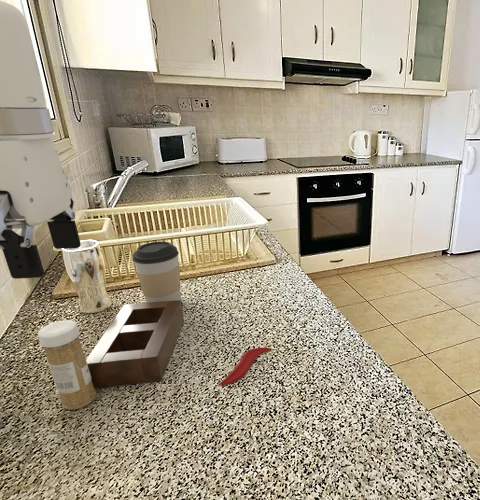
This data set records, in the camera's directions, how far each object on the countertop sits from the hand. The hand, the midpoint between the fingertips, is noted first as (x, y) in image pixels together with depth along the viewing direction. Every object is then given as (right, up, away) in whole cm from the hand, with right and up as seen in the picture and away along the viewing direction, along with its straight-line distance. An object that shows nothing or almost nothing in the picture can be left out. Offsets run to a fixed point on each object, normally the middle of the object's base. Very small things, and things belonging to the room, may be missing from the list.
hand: (50, 261), depth 49 cm
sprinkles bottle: (-3, -22, +9) cm, 25 cm away
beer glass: (-18, -12, +36) cm, 42 cm away
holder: (0, -18, +22) cm, 28 cm away
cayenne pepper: (+21, -20, +18) cm, 34 cm away
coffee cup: (-3, -12, +37) cm, 39 cm away
